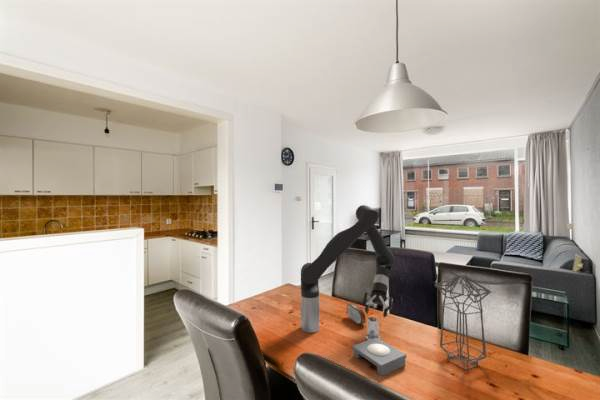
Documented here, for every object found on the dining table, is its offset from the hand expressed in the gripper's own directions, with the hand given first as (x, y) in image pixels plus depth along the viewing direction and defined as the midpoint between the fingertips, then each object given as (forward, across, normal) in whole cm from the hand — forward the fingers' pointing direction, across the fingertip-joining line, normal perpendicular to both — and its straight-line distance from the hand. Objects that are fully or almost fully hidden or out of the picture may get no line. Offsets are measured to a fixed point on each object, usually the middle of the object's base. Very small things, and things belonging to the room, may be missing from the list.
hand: (375, 315), depth 132 cm
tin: (0, -13, +14) cm, 19 cm away
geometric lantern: (+11, +37, +3) cm, 38 cm away
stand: (+22, +7, -8) cm, 24 cm away
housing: (+10, 0, +3) cm, 11 cm away
